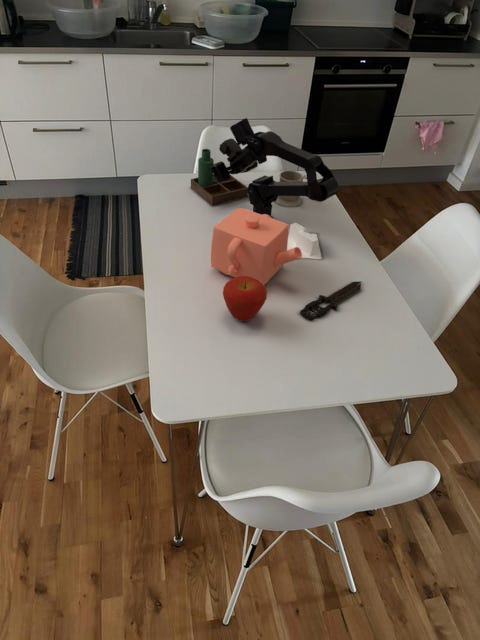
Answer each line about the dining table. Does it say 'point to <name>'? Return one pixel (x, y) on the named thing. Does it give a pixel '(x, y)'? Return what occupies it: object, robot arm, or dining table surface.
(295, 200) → the mug
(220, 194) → the tray
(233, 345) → the dining table surface
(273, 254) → the teapot
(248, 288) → the apple
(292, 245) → the napkin holder
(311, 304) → the knife
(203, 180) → the bottle
